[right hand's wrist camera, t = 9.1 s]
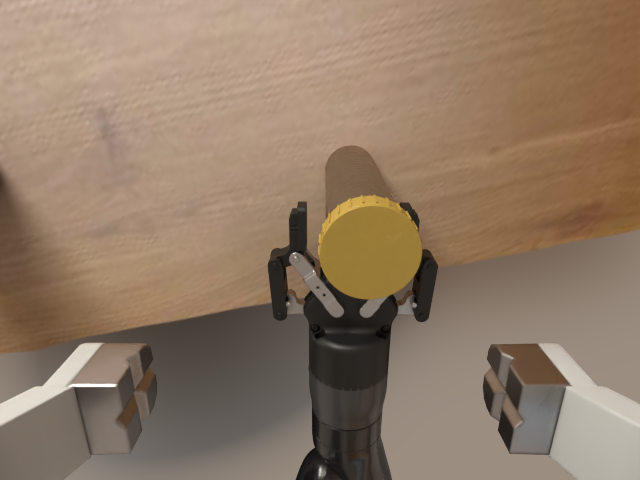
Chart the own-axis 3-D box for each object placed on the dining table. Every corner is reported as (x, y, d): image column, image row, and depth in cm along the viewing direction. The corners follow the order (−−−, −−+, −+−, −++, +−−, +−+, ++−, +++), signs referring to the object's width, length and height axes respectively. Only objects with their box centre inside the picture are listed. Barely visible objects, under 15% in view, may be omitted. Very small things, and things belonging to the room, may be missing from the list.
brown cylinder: (383, 179, 42) (428, 265, 24) (340, 203, 43) (352, 303, 25) (360, 136, 40) (388, 193, 22) (316, 162, 41) (309, 236, 23)
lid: (433, 257, 25) (441, 271, 23) (348, 300, 26) (350, 317, 24) (388, 175, 23) (394, 184, 22) (300, 225, 24) (298, 237, 23)
